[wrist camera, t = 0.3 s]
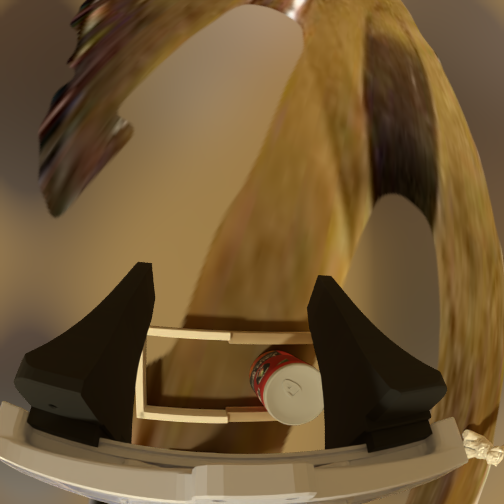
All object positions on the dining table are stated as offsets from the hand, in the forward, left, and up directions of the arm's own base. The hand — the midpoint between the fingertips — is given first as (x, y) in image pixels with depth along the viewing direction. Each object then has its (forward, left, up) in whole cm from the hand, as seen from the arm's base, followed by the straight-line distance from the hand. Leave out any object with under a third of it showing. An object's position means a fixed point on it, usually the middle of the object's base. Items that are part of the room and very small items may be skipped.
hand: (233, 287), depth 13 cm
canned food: (-11, -10, -30) cm, 34 cm away
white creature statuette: (-35, -59, -31) cm, 75 cm away
